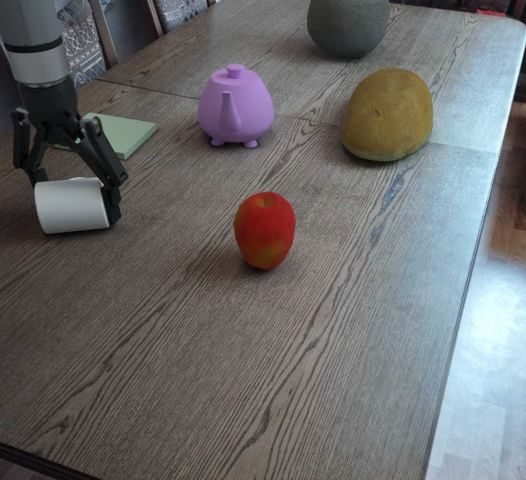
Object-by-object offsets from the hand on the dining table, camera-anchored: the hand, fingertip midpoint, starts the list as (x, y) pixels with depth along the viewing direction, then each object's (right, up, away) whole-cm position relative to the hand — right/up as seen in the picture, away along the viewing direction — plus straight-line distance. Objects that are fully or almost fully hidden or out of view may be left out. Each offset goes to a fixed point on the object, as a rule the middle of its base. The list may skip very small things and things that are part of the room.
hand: (82, 214), depth 91 cm
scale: (-2, +21, +22) cm, 30 cm away
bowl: (+52, +58, +58) cm, 97 cm away
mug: (-1, -1, +1) cm, 2 cm away
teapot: (+25, +21, +22) cm, 39 cm away
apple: (+30, -9, -7) cm, 32 cm away
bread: (+56, +24, +25) cm, 66 cm away
